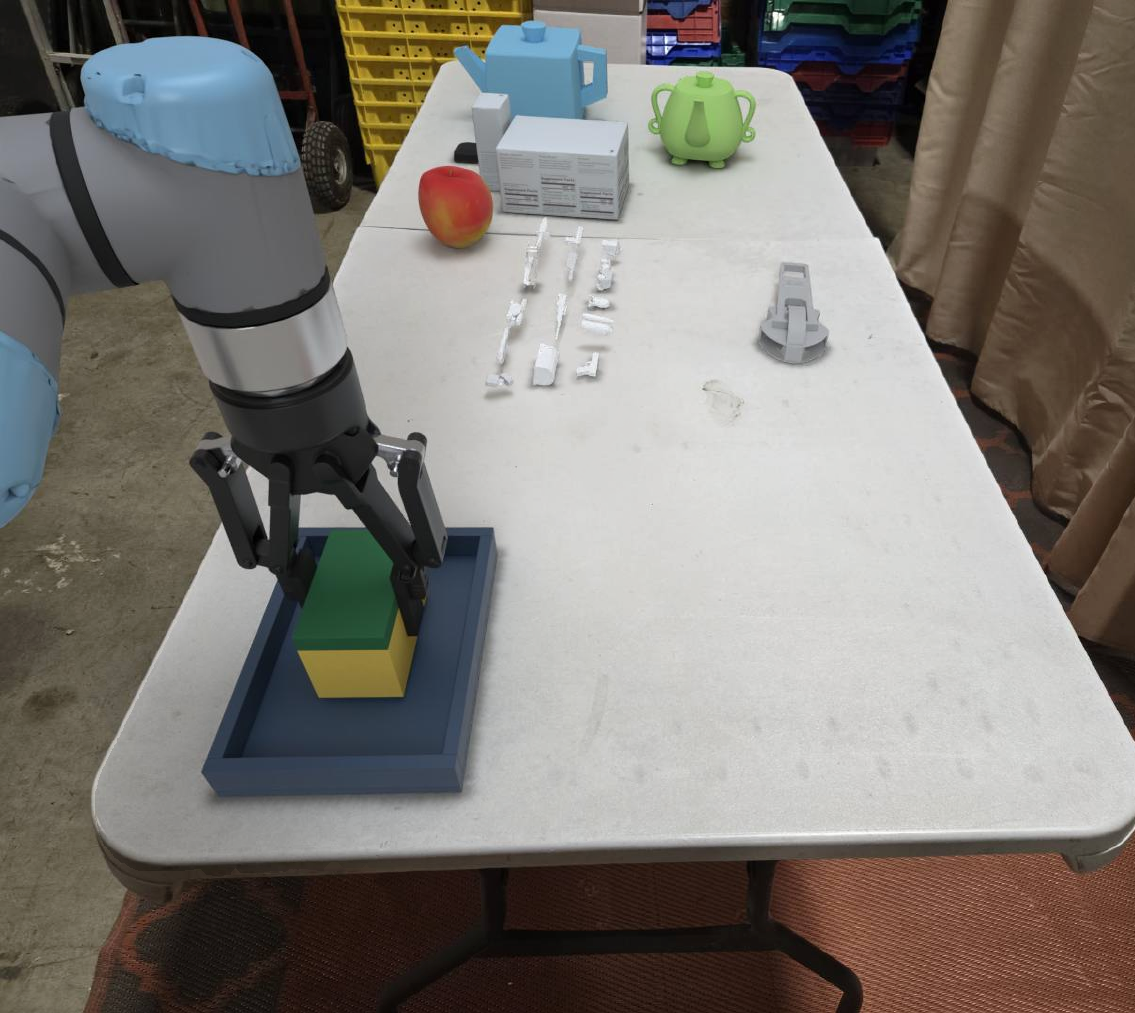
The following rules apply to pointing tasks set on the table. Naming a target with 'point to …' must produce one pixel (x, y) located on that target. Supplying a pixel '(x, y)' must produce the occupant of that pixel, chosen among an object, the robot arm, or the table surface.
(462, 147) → the remote control
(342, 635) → the sponge
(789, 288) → the zipper pull
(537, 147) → the supplement box
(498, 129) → the cosmetic box
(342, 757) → the tray
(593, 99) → the container
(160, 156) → the robot arm
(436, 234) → the apple
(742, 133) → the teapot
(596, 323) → the miniature set
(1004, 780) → the table surface
